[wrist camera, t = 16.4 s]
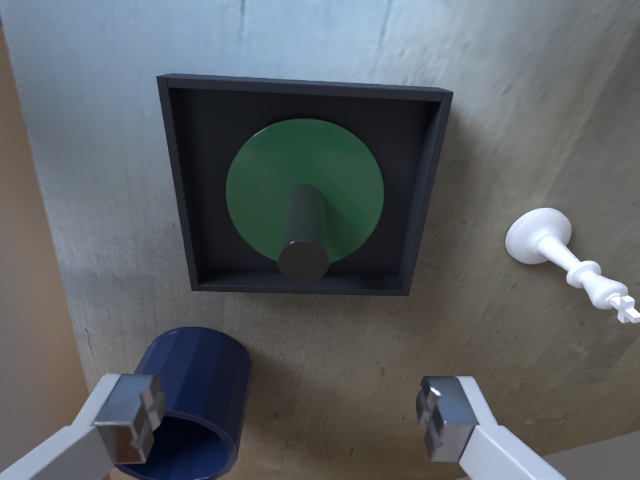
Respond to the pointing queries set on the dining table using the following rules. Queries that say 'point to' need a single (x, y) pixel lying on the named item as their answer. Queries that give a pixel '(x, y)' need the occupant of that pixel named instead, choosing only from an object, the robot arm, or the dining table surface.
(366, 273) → the tray
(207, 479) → the pot
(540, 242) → the chess piece
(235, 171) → the lid
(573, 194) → the dining table surface
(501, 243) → the dining table surface
